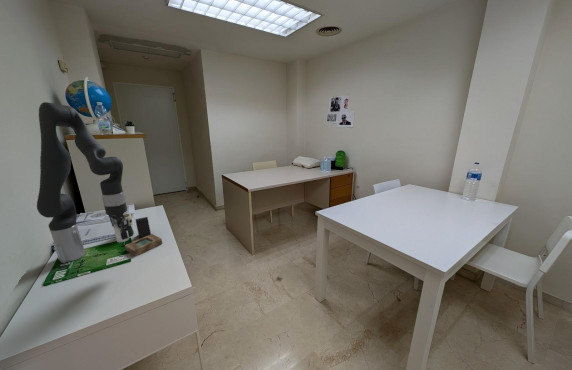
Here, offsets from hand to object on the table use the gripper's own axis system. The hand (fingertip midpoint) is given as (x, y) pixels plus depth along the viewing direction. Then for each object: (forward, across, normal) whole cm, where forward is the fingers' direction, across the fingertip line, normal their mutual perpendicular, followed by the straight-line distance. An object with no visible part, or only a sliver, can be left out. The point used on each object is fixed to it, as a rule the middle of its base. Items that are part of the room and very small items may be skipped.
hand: (122, 237), depth 97 cm
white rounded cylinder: (+1, 0, 0) cm, 1 cm away
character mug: (+16, -33, +13) cm, 39 cm away
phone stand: (+16, -23, +18) cm, 33 cm away
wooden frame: (+16, -11, +12) cm, 23 cm away
